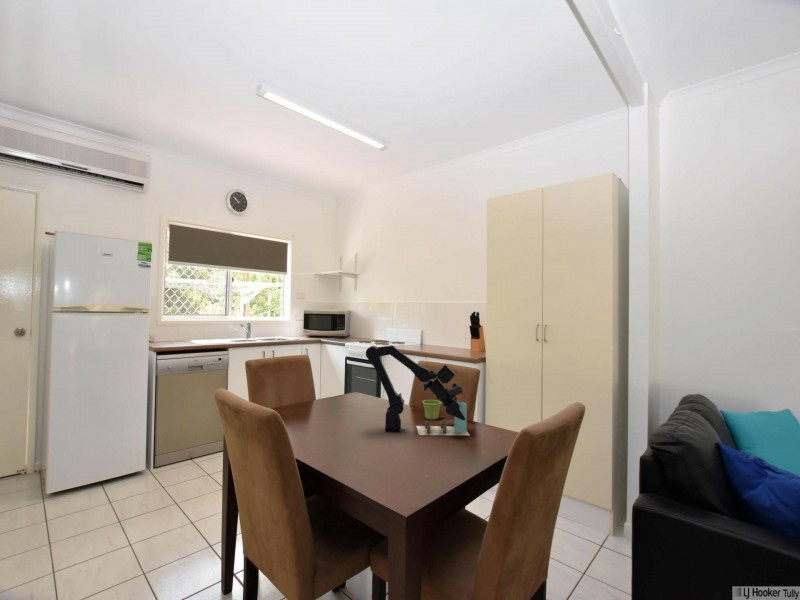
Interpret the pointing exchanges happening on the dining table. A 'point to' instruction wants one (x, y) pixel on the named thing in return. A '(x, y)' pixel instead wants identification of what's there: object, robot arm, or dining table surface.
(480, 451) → the dining table surface
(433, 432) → the peg board
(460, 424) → the teal post
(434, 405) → the plant pot
